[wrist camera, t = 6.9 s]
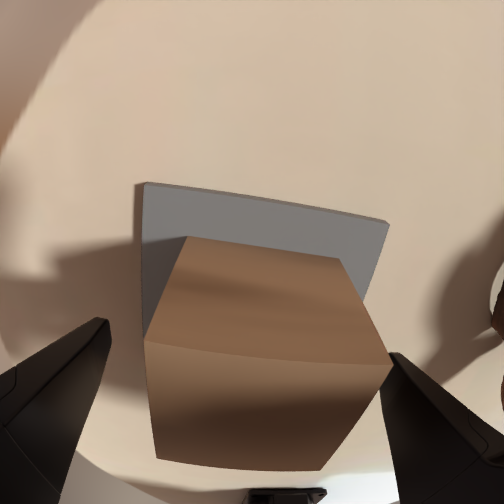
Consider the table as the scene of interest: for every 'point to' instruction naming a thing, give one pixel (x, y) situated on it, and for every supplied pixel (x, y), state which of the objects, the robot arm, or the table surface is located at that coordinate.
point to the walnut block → (258, 358)
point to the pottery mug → (499, 325)
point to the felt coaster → (249, 233)
